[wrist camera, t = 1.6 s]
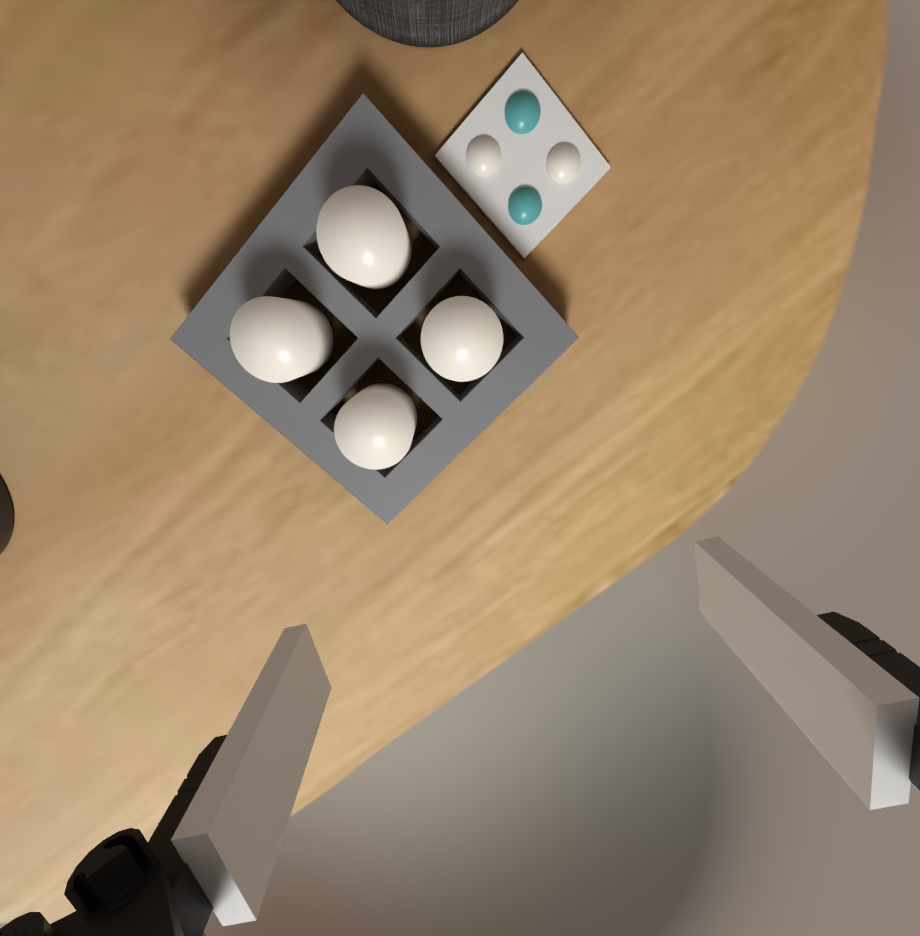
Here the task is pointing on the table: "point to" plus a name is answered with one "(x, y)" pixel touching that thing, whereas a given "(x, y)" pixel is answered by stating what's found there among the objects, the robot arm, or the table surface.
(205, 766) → the robot arm
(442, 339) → the button
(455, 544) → the table surface
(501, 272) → the board
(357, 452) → the button
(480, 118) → the card
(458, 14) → the planter
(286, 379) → the button
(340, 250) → the button
